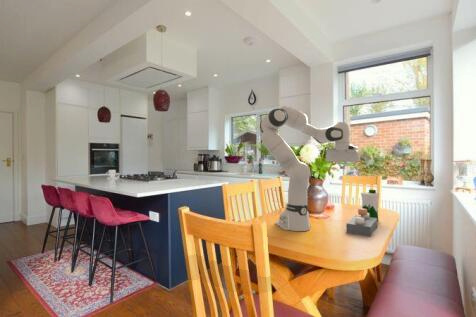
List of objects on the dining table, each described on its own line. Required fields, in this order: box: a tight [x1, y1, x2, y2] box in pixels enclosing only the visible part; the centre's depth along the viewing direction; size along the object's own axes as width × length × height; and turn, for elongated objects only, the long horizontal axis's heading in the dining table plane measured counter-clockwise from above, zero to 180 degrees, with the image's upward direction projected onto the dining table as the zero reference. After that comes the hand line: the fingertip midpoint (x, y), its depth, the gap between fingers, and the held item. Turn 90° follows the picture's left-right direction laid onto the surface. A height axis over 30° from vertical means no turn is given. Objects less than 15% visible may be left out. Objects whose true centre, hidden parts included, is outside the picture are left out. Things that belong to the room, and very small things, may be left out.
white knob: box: [354, 216, 364, 225], centre depth 139 cm, size 5×5×7 cm
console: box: [345, 214, 378, 237], centre depth 146 cm, size 24×12×5 cm, turn 144°
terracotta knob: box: [357, 207, 367, 218], centre depth 146 cm, size 5×5×7 cm
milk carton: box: [360, 189, 380, 222], centre depth 167 cm, size 9×9×20 cm
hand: (342, 169), depth 162 cm, fingers closed
